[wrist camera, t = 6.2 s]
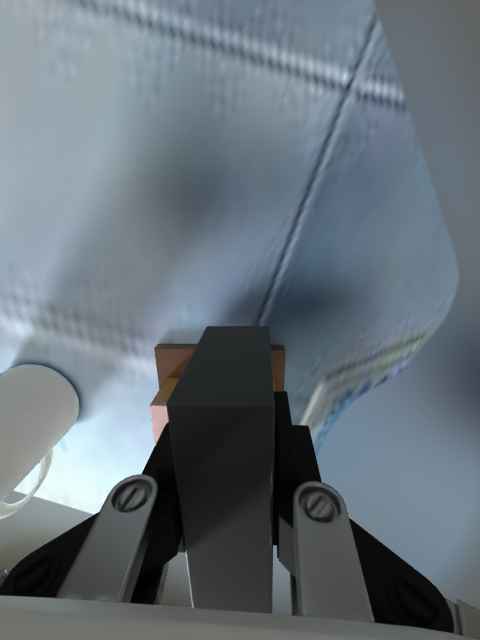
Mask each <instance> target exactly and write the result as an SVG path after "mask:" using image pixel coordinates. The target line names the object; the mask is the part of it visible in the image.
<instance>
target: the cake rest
mask: <svg viewBox="0 0 480 640" xmlns="http://www.w3.org/2000/svg"><path fill="white" fill-rule="evenodd" d="M178 380H179V378H167V379H166V380H165V382H164V383H163V385H162V387H161V388H160V390H159V391H158V393H157V395H156V396H155V398H154V399H153V401H152V403H151V404H150V411H151V418H152V426H153V433H154V440H155V445H156V443H157V441H158V439H159V437H160V435H161V433H162V431H163V428H164V426H165V425H166V423H168V414H167V406H166V403H167V400H168V399H169V397H170V395H171V393H172V391H173V389H174V387H175V385H176V384H177V382H178Z"/></svg>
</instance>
